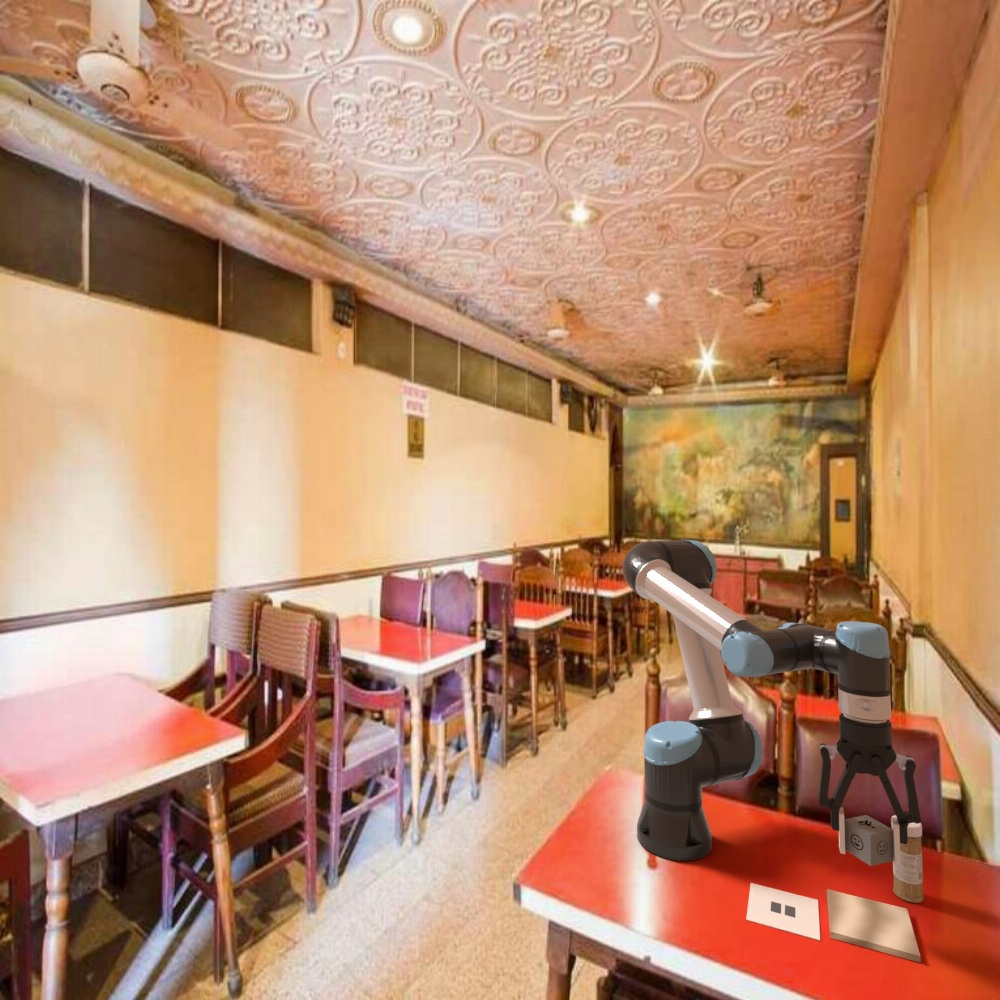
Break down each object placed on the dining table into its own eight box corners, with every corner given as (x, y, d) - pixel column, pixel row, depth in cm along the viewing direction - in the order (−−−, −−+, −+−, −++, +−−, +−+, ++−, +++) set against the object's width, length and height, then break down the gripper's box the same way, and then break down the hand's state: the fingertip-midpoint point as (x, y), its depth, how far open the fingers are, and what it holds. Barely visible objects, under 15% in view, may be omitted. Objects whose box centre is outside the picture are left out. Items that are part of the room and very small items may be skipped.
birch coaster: (830, 937, 95) (830, 931, 95) (827, 894, 106) (826, 889, 106) (920, 962, 89) (920, 956, 89) (907, 914, 100) (907, 908, 100)
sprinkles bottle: (902, 885, 108) (900, 811, 108) (929, 899, 104) (927, 822, 104) (887, 892, 106) (885, 817, 106) (914, 907, 102) (912, 829, 102)
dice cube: (866, 844, 101) (866, 814, 101) (894, 860, 96) (893, 829, 96) (844, 849, 99) (843, 819, 99) (870, 866, 94) (870, 835, 95)
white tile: (746, 919, 99) (746, 919, 99) (750, 883, 109) (750, 882, 109) (820, 940, 94) (820, 939, 94) (817, 900, 104) (817, 899, 104)
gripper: (798, 714, 100) (801, 852, 99) (942, 732, 91) (947, 884, 90) (798, 702, 106) (801, 830, 105) (932, 717, 97) (937, 858, 97)
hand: (868, 855), depth 98 cm, fingers closed on dice cube, 7 cm apart
